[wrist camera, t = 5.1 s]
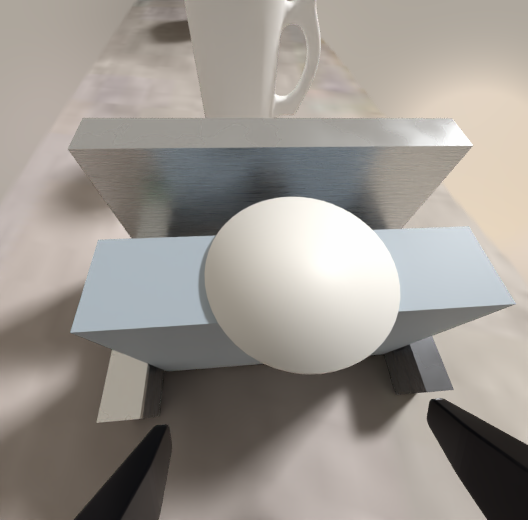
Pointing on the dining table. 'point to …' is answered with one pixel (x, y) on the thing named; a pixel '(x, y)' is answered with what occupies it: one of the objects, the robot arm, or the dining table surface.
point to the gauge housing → (261, 198)
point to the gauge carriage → (284, 290)
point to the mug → (249, 54)
